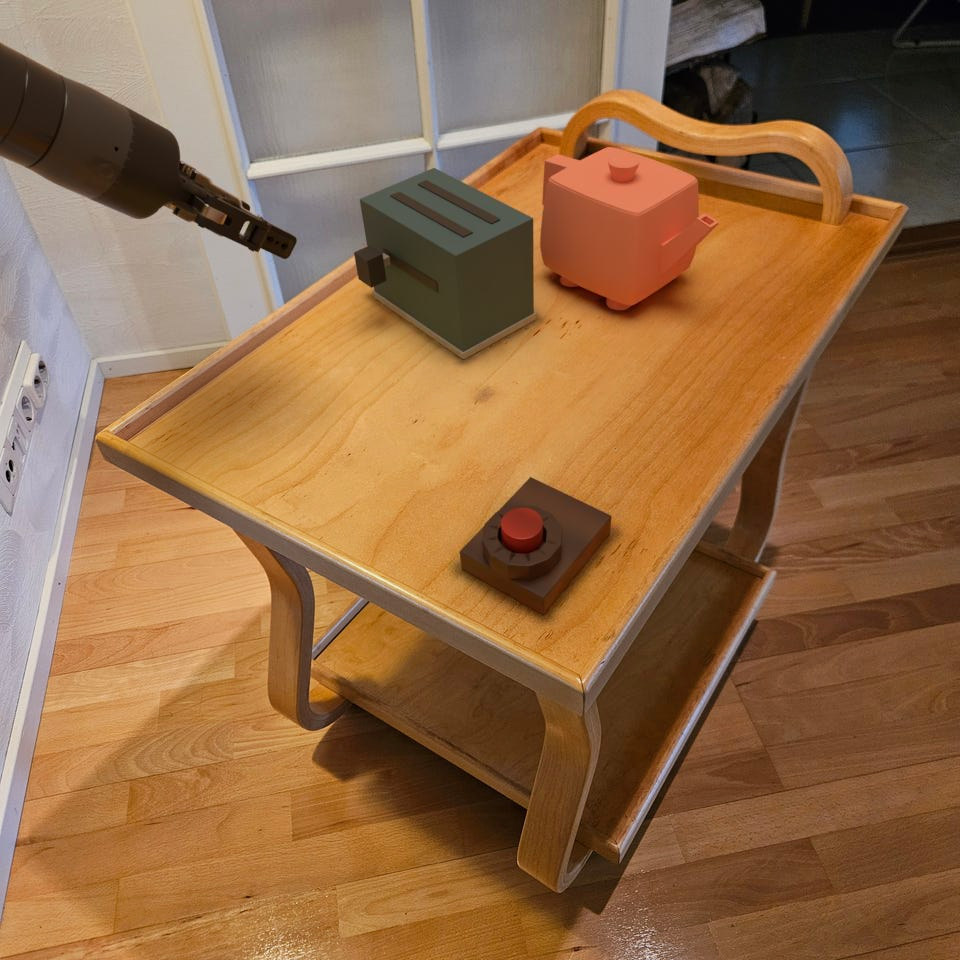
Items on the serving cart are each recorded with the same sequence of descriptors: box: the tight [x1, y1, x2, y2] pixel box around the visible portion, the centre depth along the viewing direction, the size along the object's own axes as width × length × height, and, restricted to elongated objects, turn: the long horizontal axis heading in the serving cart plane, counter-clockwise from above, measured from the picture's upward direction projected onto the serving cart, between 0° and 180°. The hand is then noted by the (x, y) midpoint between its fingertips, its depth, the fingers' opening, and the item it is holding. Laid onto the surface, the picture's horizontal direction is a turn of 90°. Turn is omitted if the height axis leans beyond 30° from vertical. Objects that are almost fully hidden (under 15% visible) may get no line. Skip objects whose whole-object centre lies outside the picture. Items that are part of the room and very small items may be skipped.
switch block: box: [459, 476, 613, 616], centre depth 66 cm, size 10×8×4 cm
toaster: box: [359, 167, 537, 360], centre depth 88 cm, size 10×16×12 cm, turn 40°
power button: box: [501, 508, 543, 553], centre depth 63 cm, size 3×3×2 cm
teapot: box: [539, 146, 720, 311], centre depth 90 cm, size 22×13×14 cm, turn 44°
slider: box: [353, 245, 391, 289], centre depth 87 cm, size 3×2×3 cm
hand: (267, 231), depth 76 cm, fingers open, 8 cm apart
